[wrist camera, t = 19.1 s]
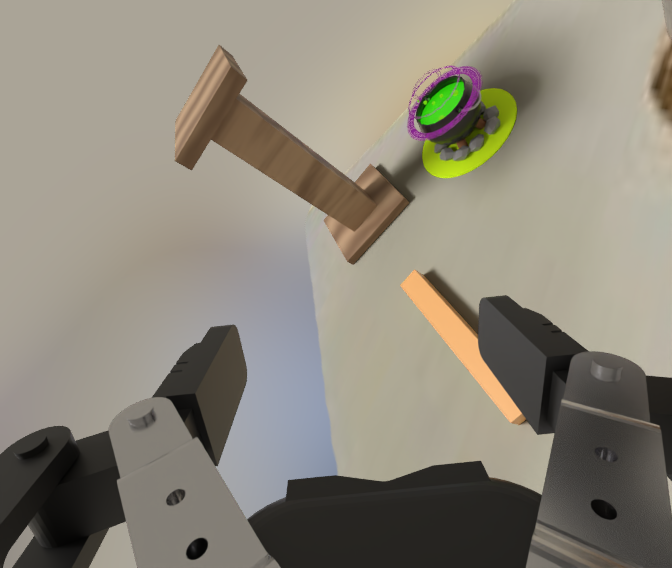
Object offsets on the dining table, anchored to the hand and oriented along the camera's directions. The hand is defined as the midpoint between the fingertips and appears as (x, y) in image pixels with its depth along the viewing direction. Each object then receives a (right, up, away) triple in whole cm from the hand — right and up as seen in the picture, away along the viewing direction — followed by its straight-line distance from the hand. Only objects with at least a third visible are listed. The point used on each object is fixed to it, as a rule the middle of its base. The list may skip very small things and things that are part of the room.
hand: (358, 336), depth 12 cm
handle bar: (+15, -5, +31) cm, 35 cm away
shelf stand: (+5, +14, +52) cm, 54 cm away
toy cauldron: (+19, +24, +42) cm, 53 cm away
